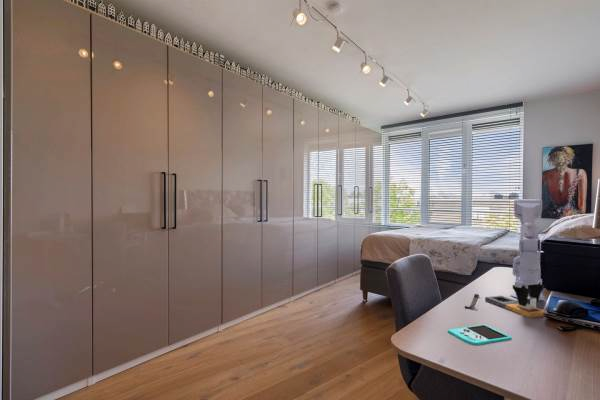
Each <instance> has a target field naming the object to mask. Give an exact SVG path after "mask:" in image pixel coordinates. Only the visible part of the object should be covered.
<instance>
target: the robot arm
mask: <svg viewBox="0 0 600 400" xmlns="http://www.w3.org/2000/svg"><path fill="white" fill-rule="evenodd" d="M513 202H514V203H513V213H514V218H516V219H519V222H520V227H519V229H520V232H519V235H520V238H519V240H518V241H519V242H518V250H519V255H518V256H516V257H514V258H513V260H512V275H513V277H515V281H514V284H513V285H512V289H513V291H514V294H510V297H513V298H516V299H517V301H518V302H519V305H522V306H526V304H527V298H528V296H531V297H534V298H536V304H538V302H539V301H544V300H545V299H544V298H542V292H543V290H544V289H545V287H546V286H545V285H543V279H542V278H541V275H542V273H541V268H542V267H541V263H540V261H539V259H540V254H541V249H542V244H541V238H540V236H539V227H538V226H537V225H536V224H535V220H538V219H540V218H541V216H542V211H543V200H542V199H541V198H539V199H529V198H528V199H527V198H526V199H523V198H515V199H514V201H513Z"/></svg>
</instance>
